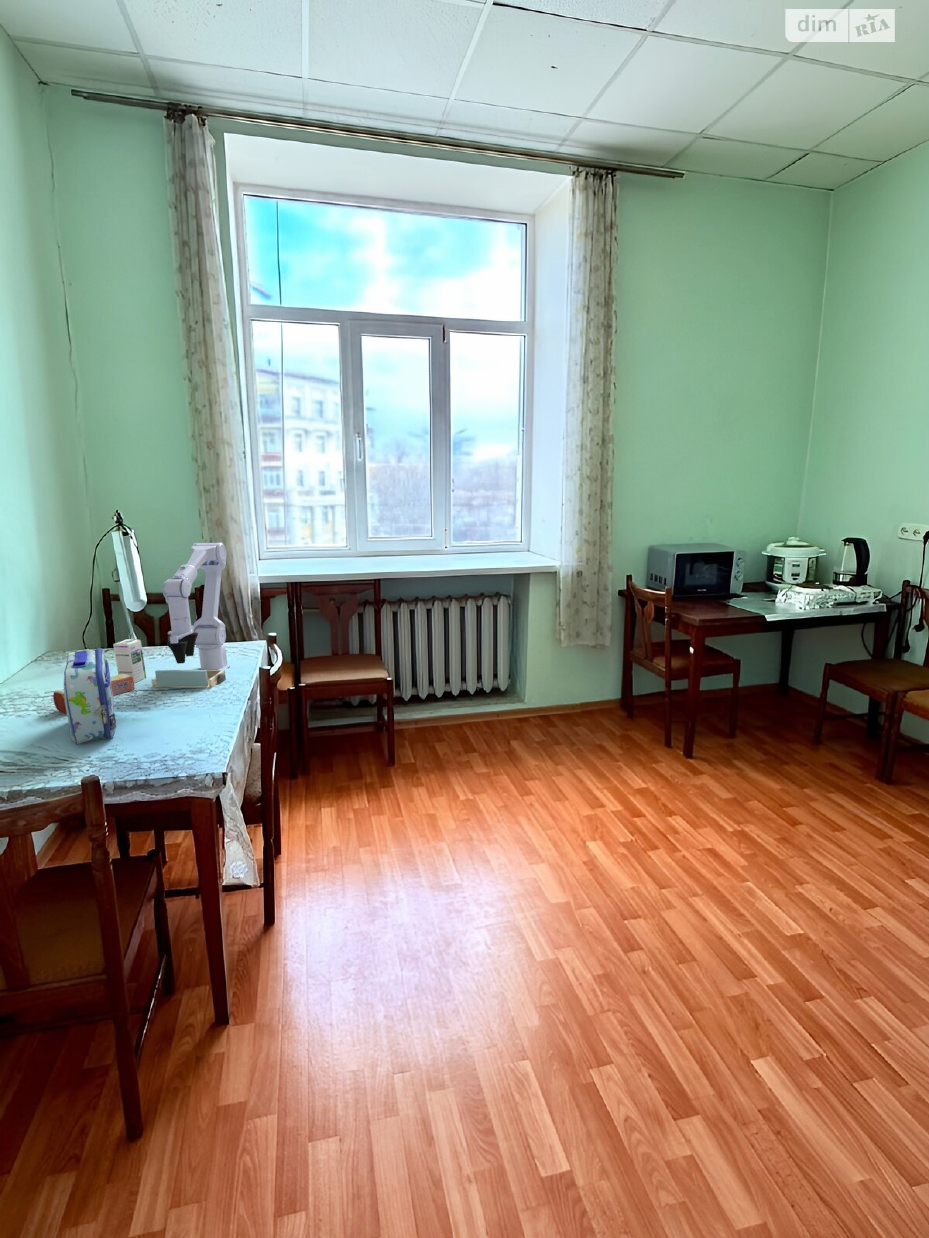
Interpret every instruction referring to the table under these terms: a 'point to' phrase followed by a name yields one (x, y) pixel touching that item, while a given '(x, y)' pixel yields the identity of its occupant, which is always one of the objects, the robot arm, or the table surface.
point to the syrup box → (130, 659)
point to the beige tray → (213, 679)
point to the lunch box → (89, 696)
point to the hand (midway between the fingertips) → (185, 659)
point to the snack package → (117, 682)
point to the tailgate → (181, 678)
